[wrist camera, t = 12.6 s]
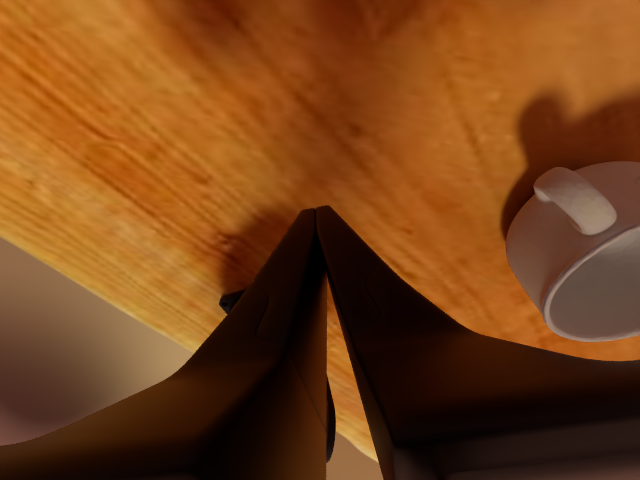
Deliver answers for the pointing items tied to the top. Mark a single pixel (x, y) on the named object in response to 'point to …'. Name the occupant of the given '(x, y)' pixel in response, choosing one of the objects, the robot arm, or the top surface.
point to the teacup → (582, 250)
